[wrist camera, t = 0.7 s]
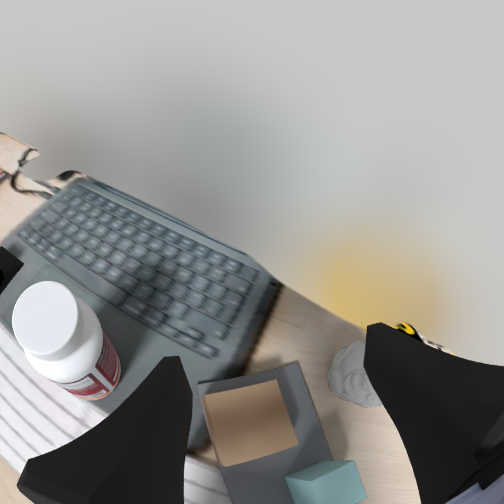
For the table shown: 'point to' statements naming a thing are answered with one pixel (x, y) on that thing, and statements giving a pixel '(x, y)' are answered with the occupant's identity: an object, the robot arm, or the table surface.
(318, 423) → the mat
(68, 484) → the robot arm
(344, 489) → the teal block
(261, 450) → the walnut slab
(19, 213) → the table surface
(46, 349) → the pill bottle
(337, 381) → the grey rounded lumpy piece
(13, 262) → the black bracket
